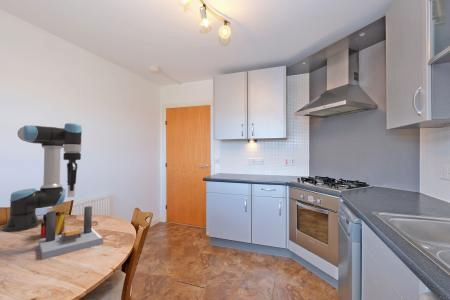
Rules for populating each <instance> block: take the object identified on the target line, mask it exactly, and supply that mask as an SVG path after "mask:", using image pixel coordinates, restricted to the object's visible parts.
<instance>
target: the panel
mask: <svg viewBox="0 0 450 300" xmlns="http://www.w3.org/2000/svg"><path fill="white" fill-rule="evenodd" d="M78 230H81V233H79V234H74V235H70V236H64V232H65V231H64V232H62V235H57V236H55V240H54V241H50V242H46V238H43V239H41V238H39V239H38V247H39V252H40V255H41V258H42V259H41V260H45V259H50V258H54V257H57V256H61V255H64V254H68V253H73V252H77V251H79V250H80V249H81V250H85V249H88V248H91V246H92V247H96V246H100V245H103V244H104V237H103V236H102V235H101V234H100V233H99V232H98V231H97V230H96V229H95V228H93V227H91V232H90V233H86V234H85V233H84V229H82V228H78ZM95 245H96V246H95ZM87 247H88V248H87ZM84 248H85V249H84ZM81 250H80V251H81Z"/></svg>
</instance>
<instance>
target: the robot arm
mask: <svg viewBox="0 0 450 300" xmlns="http://www.w3.org/2000/svg"><path fill="white" fill-rule="evenodd" d="M82 129H83V128H82V125H81V124H79V123H74V122H73V123H72V122H71V123H70V122H69V123H68V122H67V123H65V124H64V128H63V127H56V126H55V127H54V126H41V125H28V124H27V125H24V126H22V127H20V128H19V129H18V130H17V137H18V138H19V139H20V140H21V141H23V142H25V143H31V144H39V145H40V144H41V147H42V149H43V150H44V153H43V184H42V185H41V186H40V187H39V188H40V189H38V190H37V188H27V189H21V190H17V191H13V192H11V194H10V199H9V202H10V204H9V217H8V220H7V221H6V224H5V226H4V230H5V232H19V231H25V230H29V229H33V228H36V227H38V226H39V223H40V222H39V219H38V217H37V215H36V214H37V213H36V210H37V209H43V208H49V207H57V206H61V205H62V204H63V203H64V202H65V198H66V188H65V187H63V185H62V184H61V183H60V182H61V150H62V148H63V152H64V153H63V157H62V158H63V160H64V161H68V162H67V163H66V169H67V170H66V173H67V175H66V177H67V180H66V183H67V184H66V185H67V198H73V197H75V193H76V191H75V189H76V183H77V170H78V163H77V161H81V159H82V153H81V152H82V133H83V130H82Z"/></svg>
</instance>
